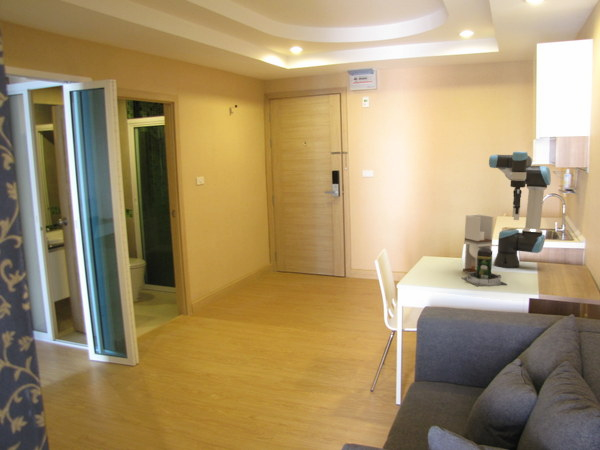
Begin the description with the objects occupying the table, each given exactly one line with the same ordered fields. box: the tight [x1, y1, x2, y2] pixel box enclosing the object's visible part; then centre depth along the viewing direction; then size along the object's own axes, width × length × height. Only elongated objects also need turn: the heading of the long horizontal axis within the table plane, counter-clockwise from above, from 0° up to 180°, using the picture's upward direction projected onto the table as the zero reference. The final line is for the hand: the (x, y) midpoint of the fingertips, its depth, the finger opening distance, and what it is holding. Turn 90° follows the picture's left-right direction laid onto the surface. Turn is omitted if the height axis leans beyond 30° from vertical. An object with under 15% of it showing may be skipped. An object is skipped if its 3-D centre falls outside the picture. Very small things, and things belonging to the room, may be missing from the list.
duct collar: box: [461, 272, 508, 287], centre depth 285 cm, size 21×18×4 cm
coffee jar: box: [476, 248, 493, 279], centre depth 284 cm, size 10×8×19 cm
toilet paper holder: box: [462, 214, 494, 274], centre depth 303 cm, size 11×11×35 cm
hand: (515, 218), depth 278 cm, fingers open, 13 cm apart
